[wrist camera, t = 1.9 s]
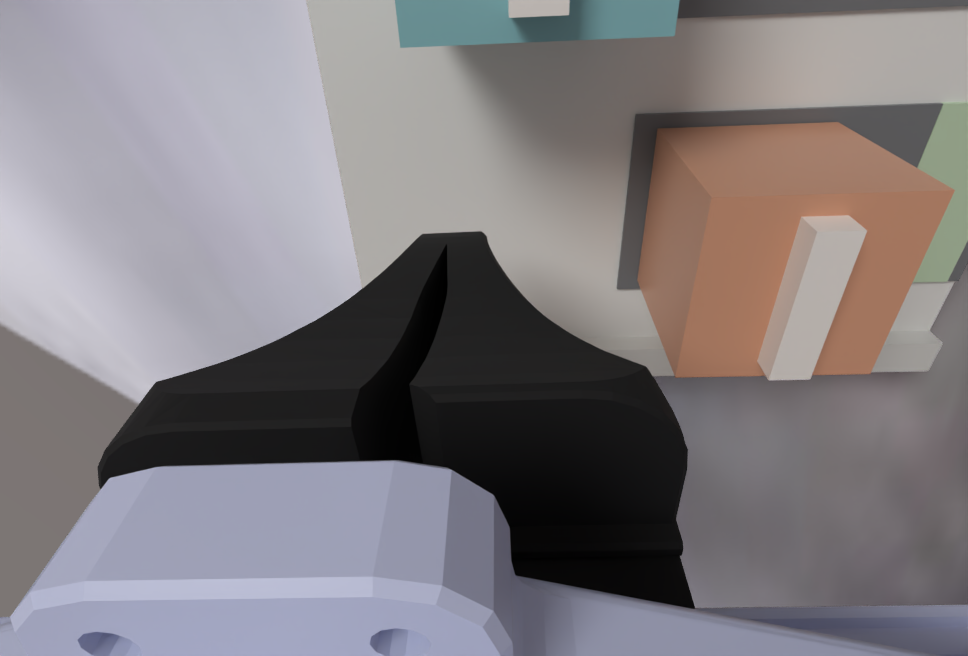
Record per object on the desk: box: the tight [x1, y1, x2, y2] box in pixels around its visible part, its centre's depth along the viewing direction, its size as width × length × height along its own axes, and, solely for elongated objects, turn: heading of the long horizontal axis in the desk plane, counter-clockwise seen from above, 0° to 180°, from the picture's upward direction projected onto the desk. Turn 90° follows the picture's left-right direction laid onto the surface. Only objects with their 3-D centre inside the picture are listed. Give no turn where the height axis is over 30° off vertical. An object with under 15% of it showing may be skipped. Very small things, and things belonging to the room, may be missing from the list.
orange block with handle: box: [637, 122, 955, 380], centre depth 12 cm, size 4×4×5 cm
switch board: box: [306, 0, 968, 376], centre depth 13 cm, size 16×15×2 cm
